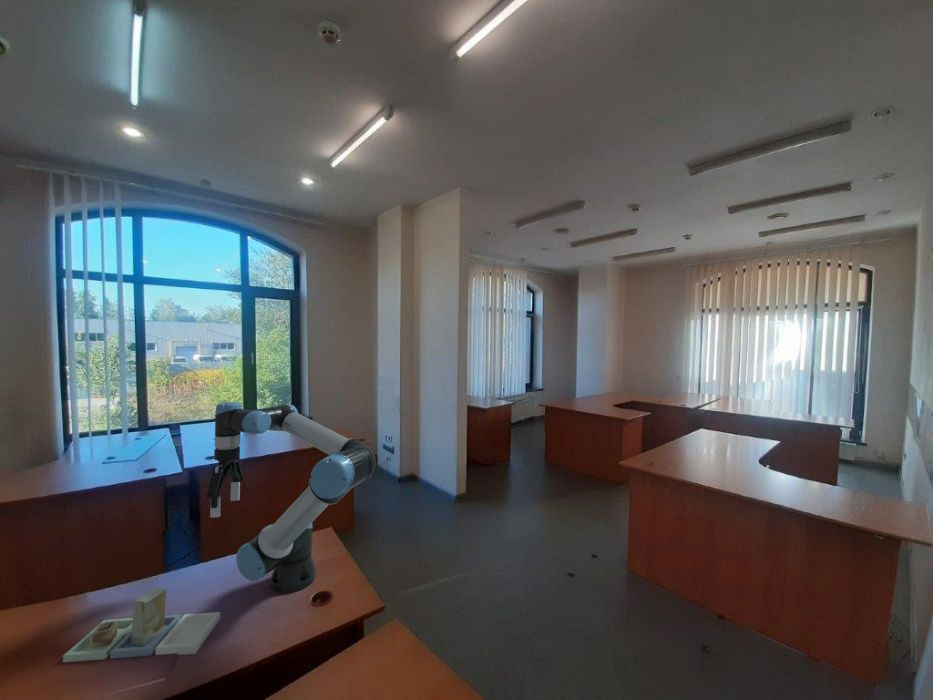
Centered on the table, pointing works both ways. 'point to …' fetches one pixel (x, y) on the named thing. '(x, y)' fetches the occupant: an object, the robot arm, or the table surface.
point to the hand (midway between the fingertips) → (225, 508)
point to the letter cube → (104, 634)
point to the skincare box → (148, 616)
